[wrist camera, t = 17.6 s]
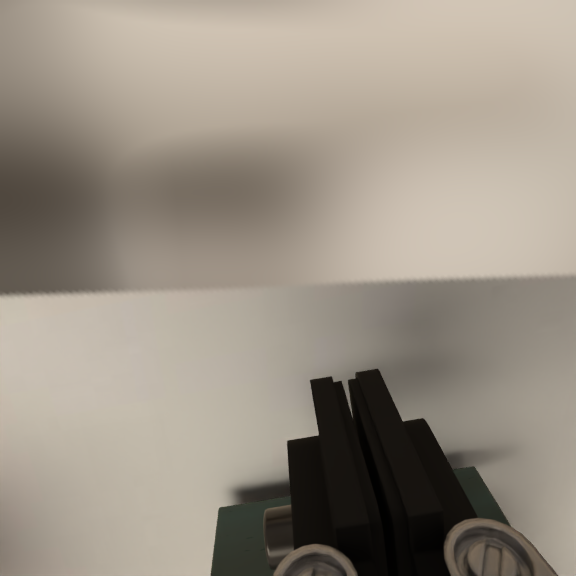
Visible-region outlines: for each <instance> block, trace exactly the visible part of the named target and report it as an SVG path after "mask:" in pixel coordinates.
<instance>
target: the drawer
mask: <svg viewBox="0 0 576 576" xmlns="http://www.w3.org/2000/svg"><path fill="white" fill-rule="evenodd" d="M453 472H454V473H455V475H456V477H457V479H458V481H459V483H460V485H461V486H462V488H463V490H464V492H465V494H466V496H467V497H468V499H469V501H470V503H471V505H472V507H473V509H474V510H475V512H476V514H477V516H478V518H484V519H493V520H495V521H498V522H501V523H504V524H507V525H509V526H510V527H511V525H510V524H509V522H508V520H507V519H506V517H505V516H504V514H503V512H502V511H501V509H500V507H499V506H498V504H497V502H496V501H495V499H494V498H493V496H492V494H491V493H490V491H489V489H488V488H487V486H486V484H485V483H484V481H483V479H482V478H481V476H480V475H479V473H478V471H477V470H476V468H475V467H474V466H472V467H466V468H460V469H454V470H453ZM292 551H294V544H293V528H292V512H291V496H288V497H282V498H276V499H270V500H263V501H257V502H251V503H245V504H239V505H233V506H227V507H220V508H219V511H218V519H217V527H216V535H215V544H214V552H213V560H212V568H211V576H273V574H274V572H275V570H276V569H277V567H278V565H279V564H280V562H281V561H282V560H283V559H284V558H285V557H286V556H287V555H288V554H289V553H291V552H292Z"/></svg>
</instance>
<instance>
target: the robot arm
mask: <svg viewBox="0 0 576 576" xmlns="http://www.w3.org/2000/svg"><path fill="white" fill-rule="evenodd" d="M355 377H356V379H350V380H348V385H349V393H350V401H351V408H352V415H351V412H350V408H349V405H348V401H347V398H346V394H345V391H344V388H343V384H342V381H338V382H333V379H332V376H331V377H325V378H319V379H313V380H310V383H311V389H312V395H313V401H314V407H315V413H316V419H317V425H318V431H319V436H313V437H307V438H301V439H295V440H289V441H288V442H287V448H288V464H289V480H290V496H291V512H292V528H293V544H294V551H292V552H291V553H289V554H288V555H287V556H286V557H285V558H284V559H283V560H282V561H281V562H280V564H279V565H278V567H277V569H276V570H275V572H274V574H273V576H558V575H557V574H556V572H555V571H554V570H553V569H552V567H551V566H550V565H549V564H548V563H547V561H546V560H545V559H544V558H543V556H542V555H541V554H540V553H539V552H538V550H537V549H536V548H535V547H534V545H533V544H532V543H531V542H530V541H529V540H528V539H527V538H525V537H524V536H523V535H522V534H521V533H520V532H518V531H517V530H515V529H513V528H512V527H510V526H509V525H507V524H504V523H501V522H498V521H495V520H493V519H484V518H478V516H477V514H476V512H475V510H474V509H473V507H472V505H471V503H470V501H469V499H468V497H467V496H466V494H465V492H464V490H463V488H462V486H461V485H460V483H459V481H458V479H457V477H456V475H455V473H454V472H453V470H452V468H451V466H450V464H449V462H448V460H447V459H446V457H445V455H444V453H443V451H442V449H441V447H440V446H439V444H438V442H437V440H436V438H435V436H434V434H433V433H432V431H431V429H430V427H429V425H428V424H427V422H426V421H425V420H424V419H423V418H422V419H416V420H410V421H404V422H403V421H402V419H401V417H400V415H399V413H398V410H397V408H396V406H395V404H394V402H393V400H392V397H391V395H390V393H389V391H388V389H387V386H386V384H385V382H384V380H383V378H382V376H381V373H380V371H379V370H378V369H373V370H367V371H361V372H356V373H355ZM352 416H353V418H352Z"/></svg>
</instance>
